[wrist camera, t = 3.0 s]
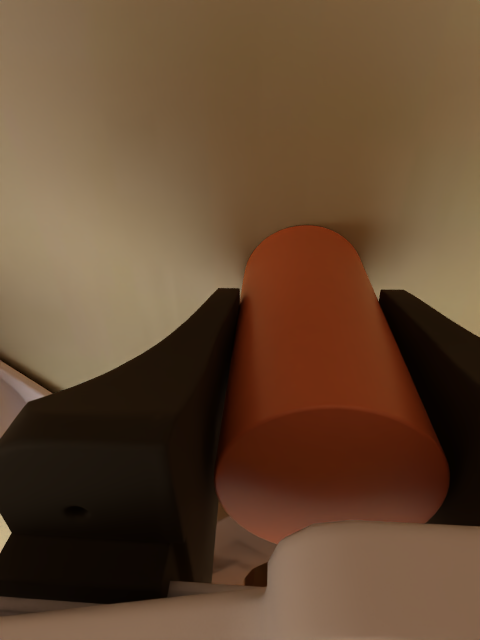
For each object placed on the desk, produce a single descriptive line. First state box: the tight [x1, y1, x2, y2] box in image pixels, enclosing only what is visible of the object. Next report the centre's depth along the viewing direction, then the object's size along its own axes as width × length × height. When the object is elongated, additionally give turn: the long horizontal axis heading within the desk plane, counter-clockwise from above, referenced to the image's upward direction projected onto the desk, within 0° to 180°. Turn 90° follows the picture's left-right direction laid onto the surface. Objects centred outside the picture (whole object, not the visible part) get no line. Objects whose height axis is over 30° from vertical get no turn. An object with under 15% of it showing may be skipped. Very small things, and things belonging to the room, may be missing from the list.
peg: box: [214, 225, 450, 544], centre depth 10 cm, size 4×4×8 cm
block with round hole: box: [212, 502, 278, 587], centre depth 20 cm, size 12×14×3 cm
